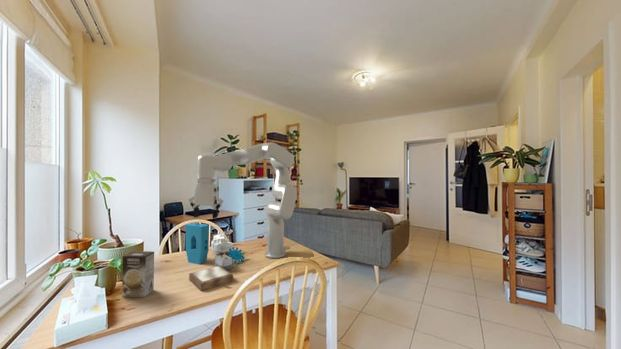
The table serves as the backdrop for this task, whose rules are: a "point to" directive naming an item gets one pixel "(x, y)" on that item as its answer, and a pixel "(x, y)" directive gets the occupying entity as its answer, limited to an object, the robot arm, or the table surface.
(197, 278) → the stand
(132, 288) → the coffee box
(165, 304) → the table surface
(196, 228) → the block
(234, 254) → the gear
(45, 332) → the table surface
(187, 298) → the table surface
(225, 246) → the mechanical part
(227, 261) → the block
